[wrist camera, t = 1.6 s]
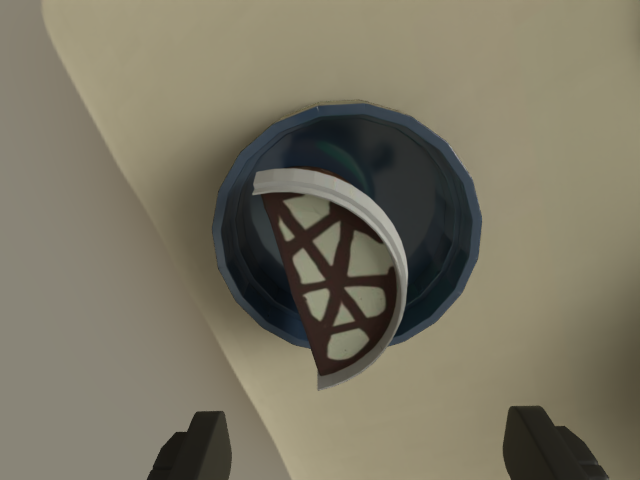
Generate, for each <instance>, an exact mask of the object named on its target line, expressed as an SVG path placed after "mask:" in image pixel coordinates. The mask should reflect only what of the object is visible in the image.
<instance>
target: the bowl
mask: <svg viewBox="0 0 640 480" xmlns="http://www.w3.org/2000/svg"><path fill="white" fill-rule="evenodd" d="M293 166H313V167H319V168H323V169H326V170H330V171H332V172H334V173H336V174H338V175H340V176H341V177H343V178H344V179H346V180H347V181H349V182H350V183H351V184H352V185H353V186H354V187H355V188H357V189H358V190H360V191H361V192H363V193H364V194H366V195H367V196H368V197H370V198H371V199H372V200H373V201H374V202H375V203H376V204H377V205H378V206H379V207H380V208H381V209H382V210H383V211H384V213H385V214H386V215H387V217H388V218H389V219H390V221H391V222H392V224H393V225H394V227H395V229H396V231H397V233H398V235H399V237H400V239H401V241H402V245H403V248H404V251H405V255H406V260H407V269H408V281H407V295H406V305H405V309H404V313H403V317H402V320H401V322H400V324H399V327H398V329H397V331H396V333H395V335H394V336H393V339H392V340H391V342H390V343H389V345H388V346H392V345H395V344H398V343H402V342H405V341H406V340H408V339H410V338H411V337H413V336H414V335H416V334H418V333H419V332H421V331H423V330H424V329H426V328H427V327H429V326H431V325H432V324H434V323H435V322H436V321H438V319H439V318H440V317H441V316H442V315H443V314H444V313H445V312H446V311H447V309H448V308H449V307H450V306H451V305H452V304H453V303H454V302H455V301H456V299H457V298H458V297H459V296H460V295H461V293H462V292H463V290H464V288H465V286H466V283H467V281H468V279H469V277H470V275H471V273H472V270H473V268H474V266H475V264H476V262H477V260H478V255H479V245H480V236H481V226H482V215H481V211H480V207H479V203H478V199H477V195H476V191H475V187H474V183H473V179H472V177H471V176H470V174H469V173H468V171H467V170H466V168H465V167H464V165H463V164H462V162H461V161H460V159H459V158H458V156H457V155H456V154H455V152H454V151H453V149H452V148H451V146H450V145H449V143H448V142H447V141H445V140H444V139H442V138H441V137H440V136H438V135H437V134H435V133H434V132H433V131H431V130H430V129H428V128H427V127H426V126H424V125H423V124H421V123H420V122H419V121H417V120H416V119H414V118H413V117H412V116H409V115H407V114H405V113H402V112H400V111H398V110H395V109H391V108H388V107H384V106H381V105H377V104H374V103H370V102H367V101H363V100H342V101H324V102H318V103H315V104H313V105H310V106H308V107H305V108H303V109H300V110H298V111H295V112H293V113H291V114H288V115H286V116H283V117H282V118H280V119H279V120H278V121H276V122H275V123H273V124H272V125H271V126H270V127H269V128H268V129H266V130H265V131H264V132H263V133H262V134H261V135H260V136H258V137H257V138H256V139H255V140H254V141H253V142H252V143H250V144H249V145H248V146H247V147H246V148H245V149H244V150H242V151H241V152H240V154H239V155H238V157H237V159H236V160H235V162H234V164H233V166H232V167H231V169H230V171H229V173H228V174H227V176H226V178H225V180H224V181H223V183H222V185H221V187H220V189H219V191H218V197H217V202H216V208H215V214H214V219H213V225H212V234H213V240H214V247H215V253H216V259H217V265H218V269H219V271H220V273H221V275H222V276H223V278H224V280H225V282H226V284H227V286H228V288H229V290H230V292H231V294H232V295H233V297H234V299H235V301H236V302H237V303H238V304H239V305H240V306H241V307H242V308H243V309H244V310H245V311H246V312H247V313H248V314H249V315H250V316H251V317H252V318H253V319H254V320H255V321H256V322H257V323H258V324H259V325H260V326H261V327H262V328H264V329H265V330H267V331H269V332H271V333H273V334H275V335H276V336H278V337H280V338H282V339H284V340H286V341H287V342H289V343H291V344H293V345H296V346H300V347H305V348H309V349H311V348H310V345H309V341H308V338H307V335H306V332H305V329H304V327H303V324H302V321H301V318H300V315H299V312H298V310H297V307H296V304H295V302H294V299H293V296H292V293H291V289H290V286H289V282H288V279H287V275H286V272H285V269H284V265H283V262H282V259H281V255H280V252H279V249H278V246H277V242H276V239H275V236H274V233H273V230H272V226H271V223H270V220H269V218H268V215H267V213H266V211H265V209H264V205H263V200H262V198H261V194H257V195H253V194H252V193H253V191H254V189H255V188H254V185H253V183H254V179H255V176H256V172H259V171H265V170H271V169H283V168H287V167H293ZM388 346H387V347H388Z"/></svg>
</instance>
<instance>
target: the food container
mask: <svg viewBox="0 0 640 480" xmlns="http://www.w3.org/2000/svg"><path fill="white" fill-rule="evenodd" d="M253 185H254V188H255V189H254V191H253V193H252V194H253V195H257V194H261V198H262V200H263V205H264V209H265V211H266V213H267V215H268V218H269V220H270V223H271V226H272V230H273V233H274V236H275V239H276V242H277V246H278V249H279V252H280V255H281V259H282V262H283V265H284V269H285V272H286V275H287V279H288V282H289V286H290V289H291V293H292V296H293V299H294V302H295V304H296V307H297V310H298V312H299V315H300V318H301V321H302V324H303V327H304V329H305V332H306V335H307V338H308V341H309V345H310V348H311V351H312V354H313V357H314V360H315V363H316V366H317V369H318V391H319V390H323V389H327V388H330V387H334V386H336V385H339V384H341V383H344V382H346V381H348V380H350V379H352V378H353V377H355V376H357V375H358V374H360V373H362V372H363V371H364V370H365V369H367V368H368V367H369V366H371V365H372V364H373V363H374V362H375V361H376V360H377V359H378V358H379V357H380V356H381V354H382V353H383V352H384V351H385V349H386V348H387V346H388V345H389V343H390V342H391V340H392V339H393V336H394V335H395V333H396V331H397V329H398V327H399V324H400V322H401V320H402V317H403V313H404V309H405V305H406V295H407V281H408V269H407V260H406V255H405V251H404V248H403V245H402V241H401V239H400V237H399V235H398V233H397V231H396V229H395V227H394V225H393V224H392V222H391V221H390V219H389V218H388V217H387V215H386V214H385V213H384V211H383V210H382V209H381V208H380V207H379V206H378V205H377V204H376V203H375V202H374V201H373V200H372V199H371V198H370V197H368V196H367V195H366V194H364V193H363V192H361V191H360V190H358V189H357V188H355V187H354V186H353V185H352V184H351V183H350V182H349V181H347V180H346V179H344V178H343V177H341V176H340V175H338V174H336V173H334V172H332V171H330V170H326V169H323V168H319V167H313V166H293V167H287V168H283V169H271V170H265V171H259V172H256V176H255V179H254V183H253Z"/></svg>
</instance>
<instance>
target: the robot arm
mask: <svg viewBox="0 0 640 480" xmlns="http://www.w3.org/2000/svg"><path fill="white" fill-rule="evenodd" d="M503 457H504V462H505V466H506V469H507V472H508V474H509V476H510V478H511V480H609V477H608V475H607V474H606V472H605V471H604V470H603V468H602V467H601V466H599V465H598V461H597V460H596V458H595V457H594V455H593V454H592V453H591V451H590V450H589V448H588V447H587V445H586V444H585V443H584V442H583V441H582V440H581V439H580V438H578V437H577V436H576V435H575V434H574V433H572V432H571V431H570V430H569V429H568V428H566V427H565V426H555V425H554V424H553V422H552V421H551V419H550V418H549V416H548V415H547V413H546V412H545V410H544V409H543V408H542V407H541V406H511V407H510V408H509V410H508V416H507V422H506V429H505V435H504V442H503ZM231 461H232V452H231V445H230V439H229V434H228V429H227V423H226V418H225V414H224V412H223V411H202V412H196V413H195V415H194V417H193V419H192V421H191V423H190V426H189V429H188V431H187V432H176V433H175V434H174V435H173V436H172V437H171V438H170V439H169V440H168V441H167V443H166V444H165V445H164V446H163V447H162V448H161V450H160V452H159V454H158V456H157V459H156V461H155V463H154V465H153V470H151V472H150V474H149V476H148V478H147V480H228V479H229V475H230V469H231Z"/></svg>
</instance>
